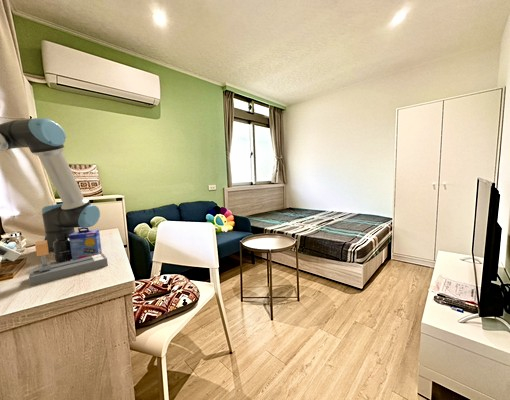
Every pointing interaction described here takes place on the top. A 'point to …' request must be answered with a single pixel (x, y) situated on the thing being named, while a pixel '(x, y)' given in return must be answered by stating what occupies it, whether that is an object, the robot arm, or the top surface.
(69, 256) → the supplement bottle
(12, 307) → the top surface
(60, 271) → the fader console
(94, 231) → the ink cartridge box
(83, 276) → the top surface
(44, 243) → the fader
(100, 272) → the top surface
